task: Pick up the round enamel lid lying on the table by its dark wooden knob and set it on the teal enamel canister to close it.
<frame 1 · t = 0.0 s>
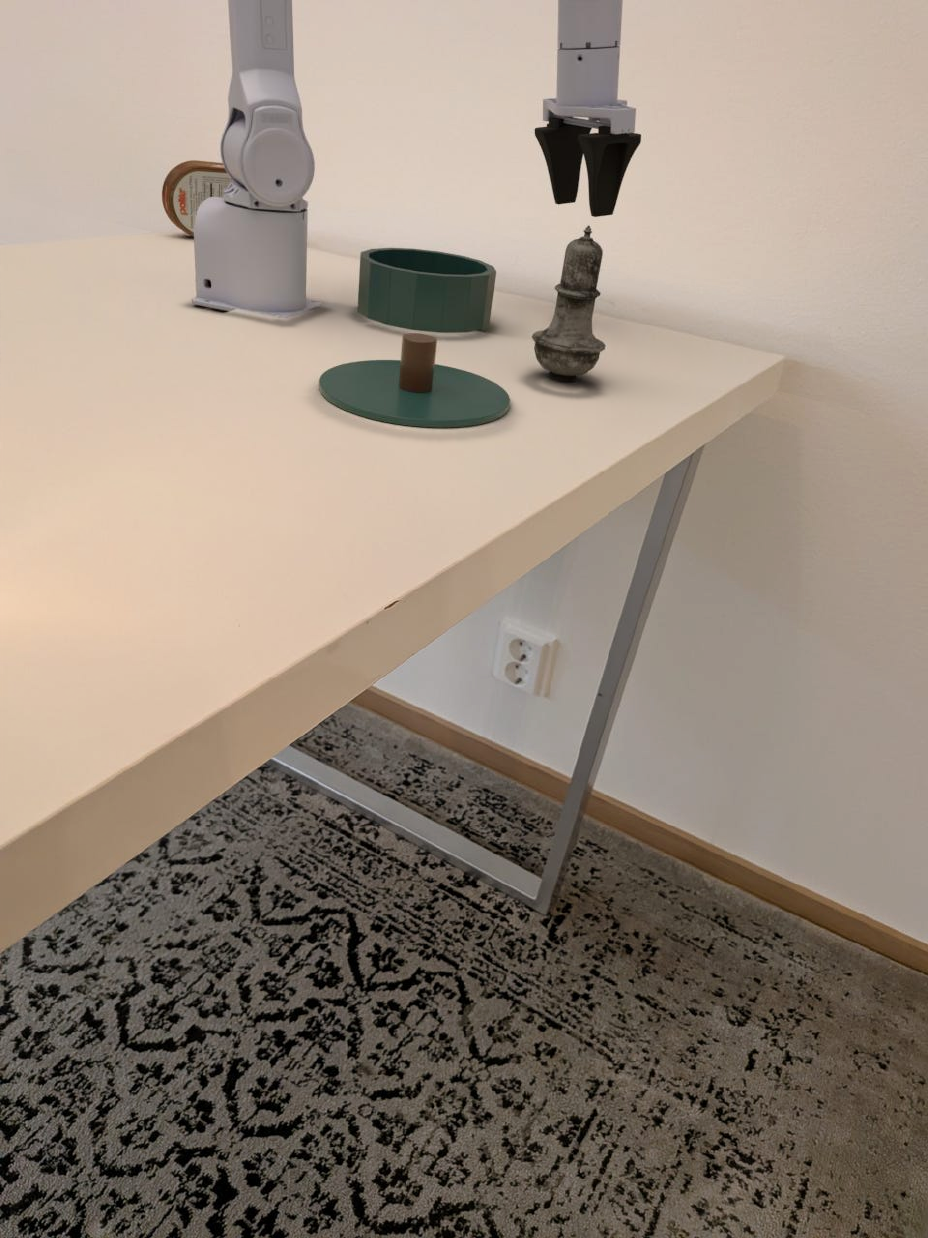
hand: (583, 208, 88), 11 cm above the table, tool pointing down, fingers open, 7 cm apart
lid: (414, 394, 63), point 1 cm above the table
canister: (423, 320, 85), on the table
tin: (228, 240, 110), on the table
salt shaker: (560, 387, 71), on the table
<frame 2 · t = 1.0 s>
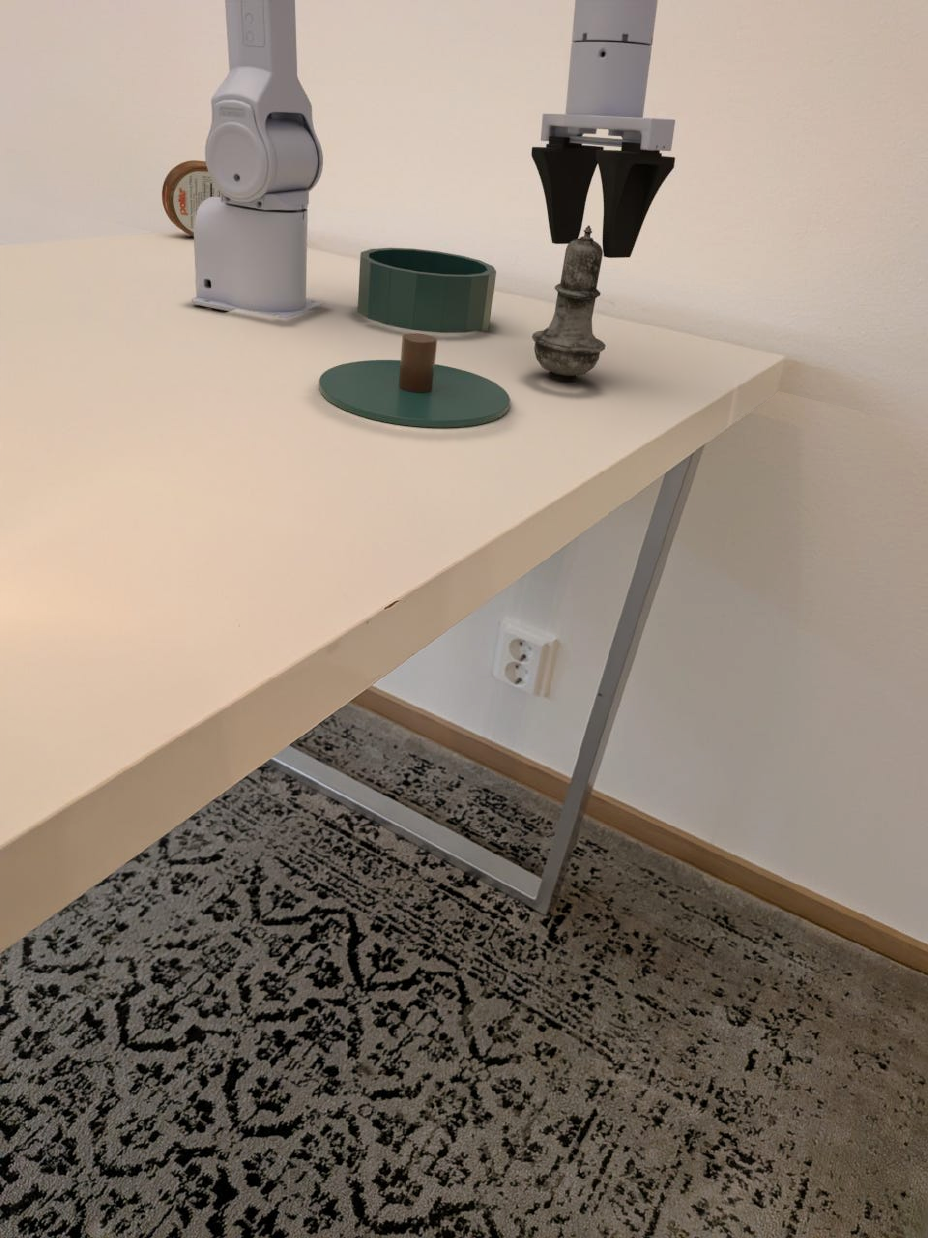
hand: (589, 249, 70), 10 cm above the table, tool pointing down, fingers open, 7 cm apart
salt shaker: (560, 387, 71), on the table, touching gripper
everything else where it was.
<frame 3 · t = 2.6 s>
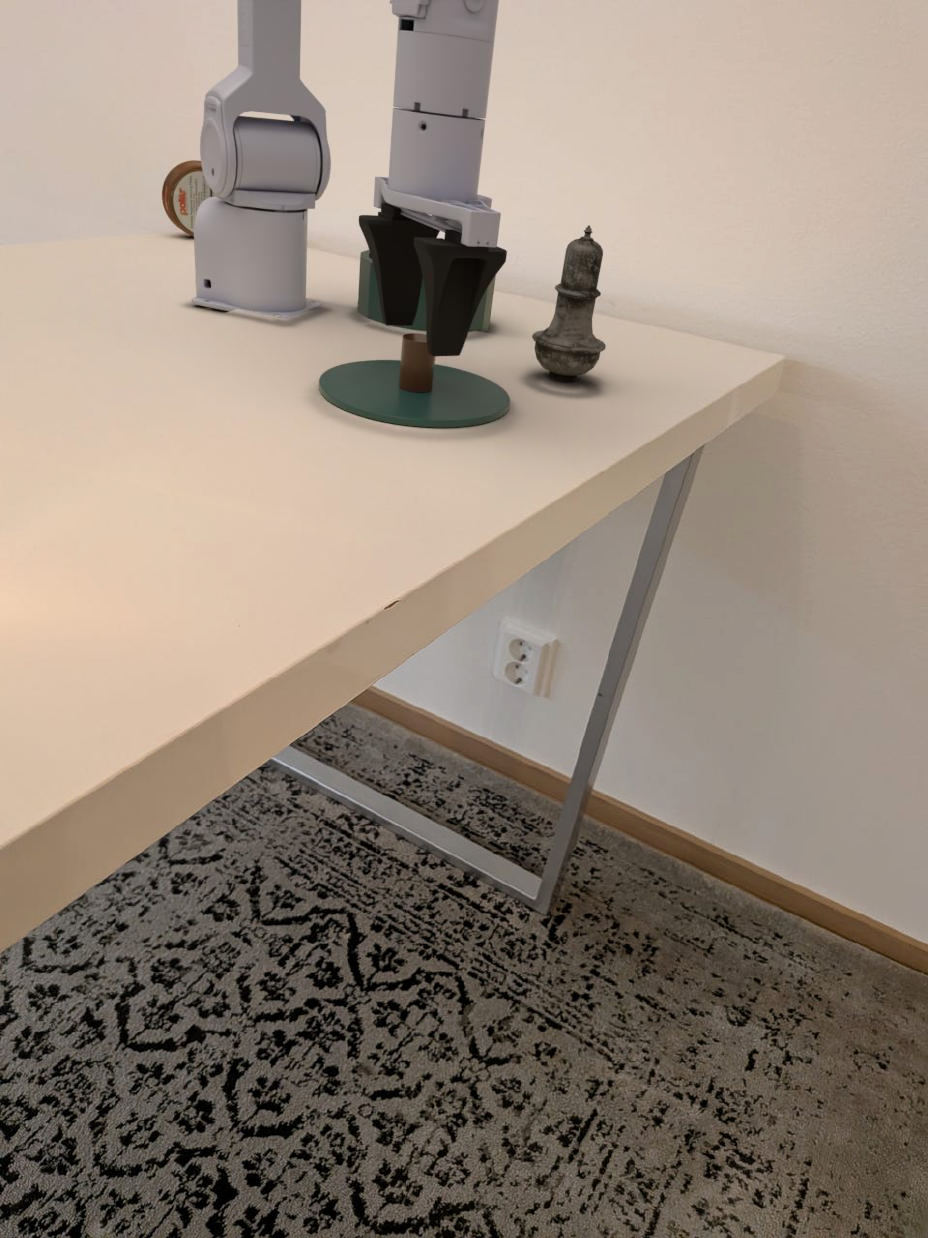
hand: (420, 338, 61), 5 cm above the table, tool pointing down, fingers open, 7 cm apart
salt shaker: (560, 387, 72), on the table
everything else where it was.
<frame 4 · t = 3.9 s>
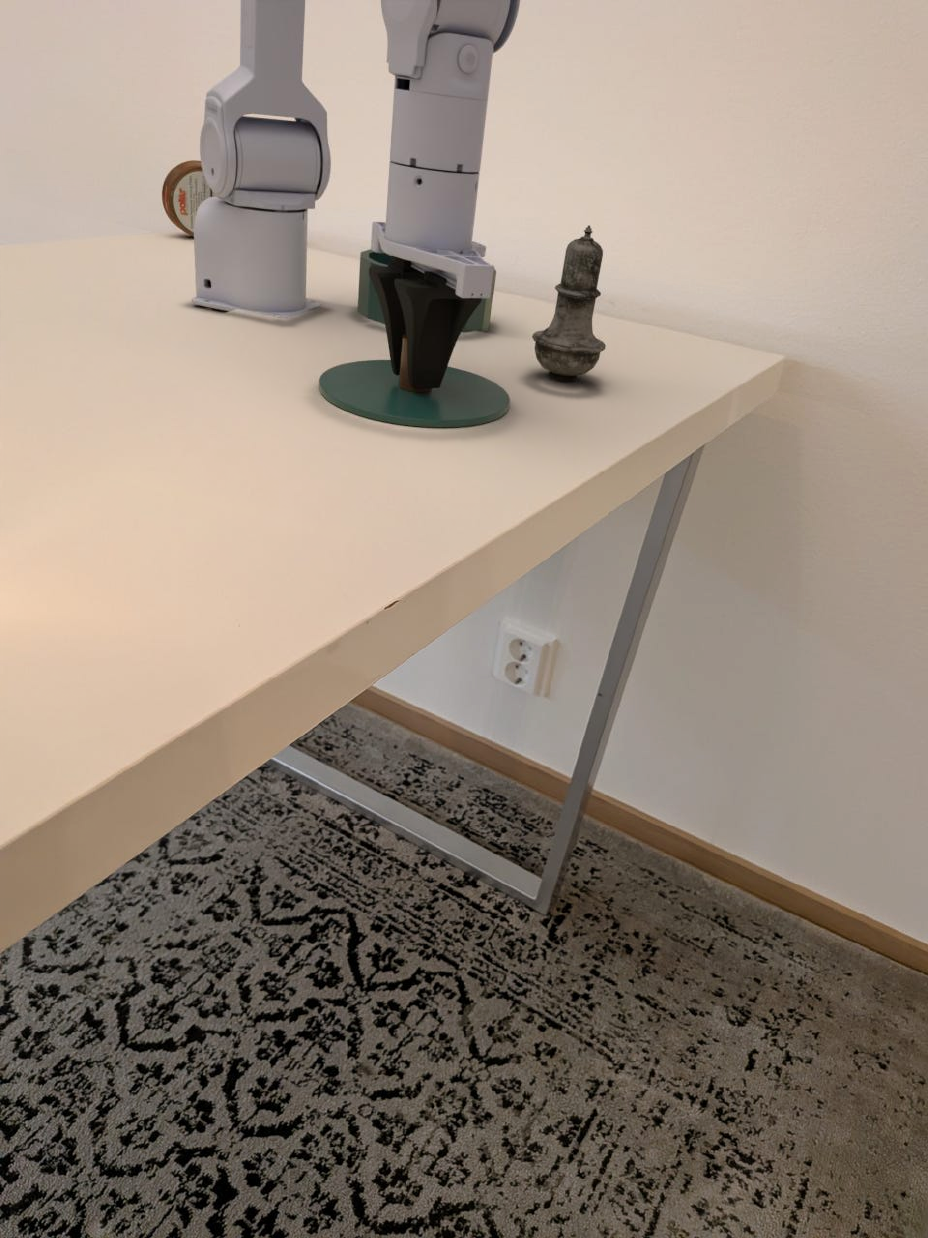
hand: (416, 380, 62), 2 cm above the table, tool pointing down, fingers closed on lid, 2 cm apart
lid: (414, 394, 63), point 1 cm above the table, touching gripper
everything else where it was.
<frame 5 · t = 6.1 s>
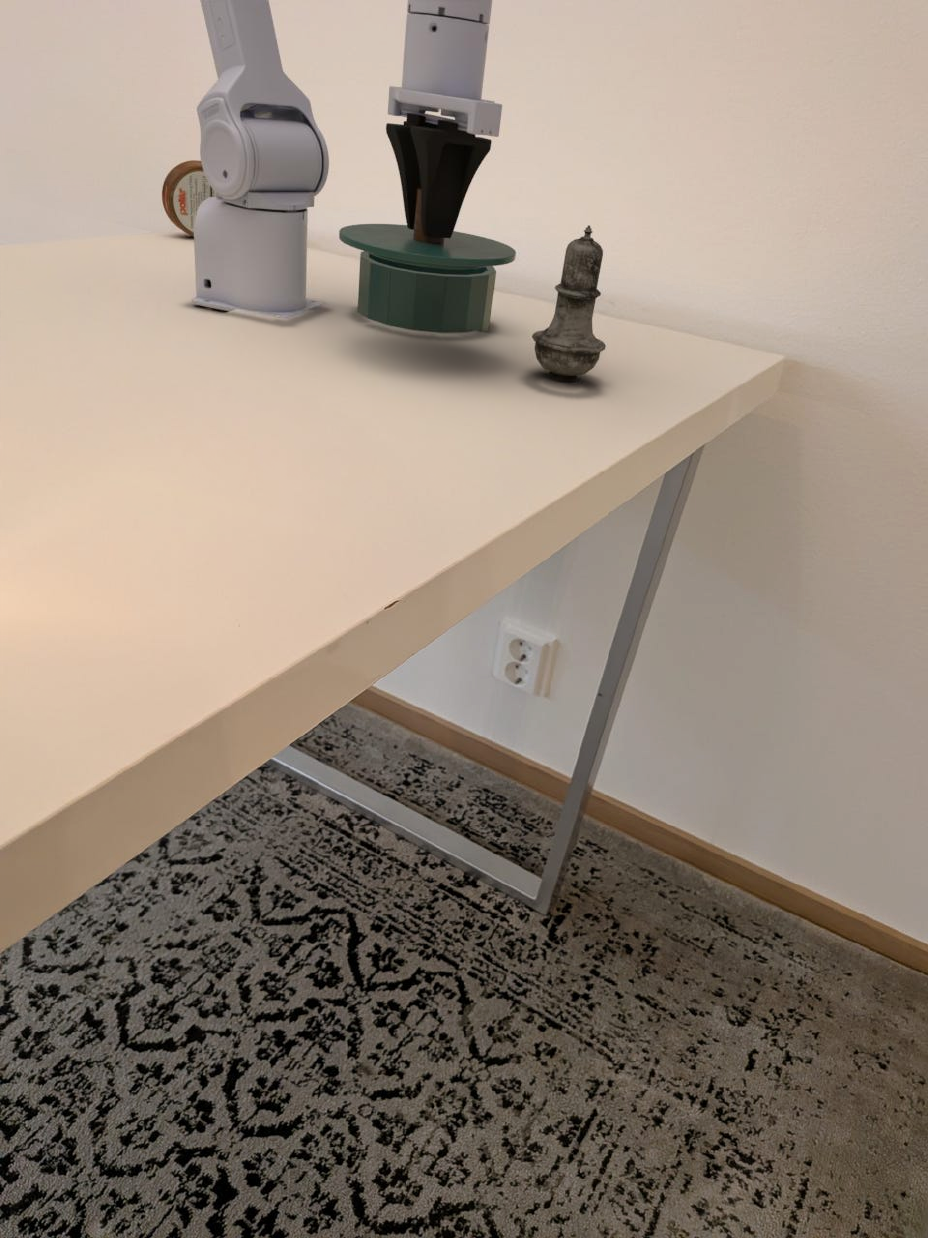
hand: (429, 233, 67), 10 cm above the table, tool pointing down, fingers closed on lid, 2 cm apart
lid: (427, 247, 68), point 9 cm above the table, touching gripper
everything else where it was.
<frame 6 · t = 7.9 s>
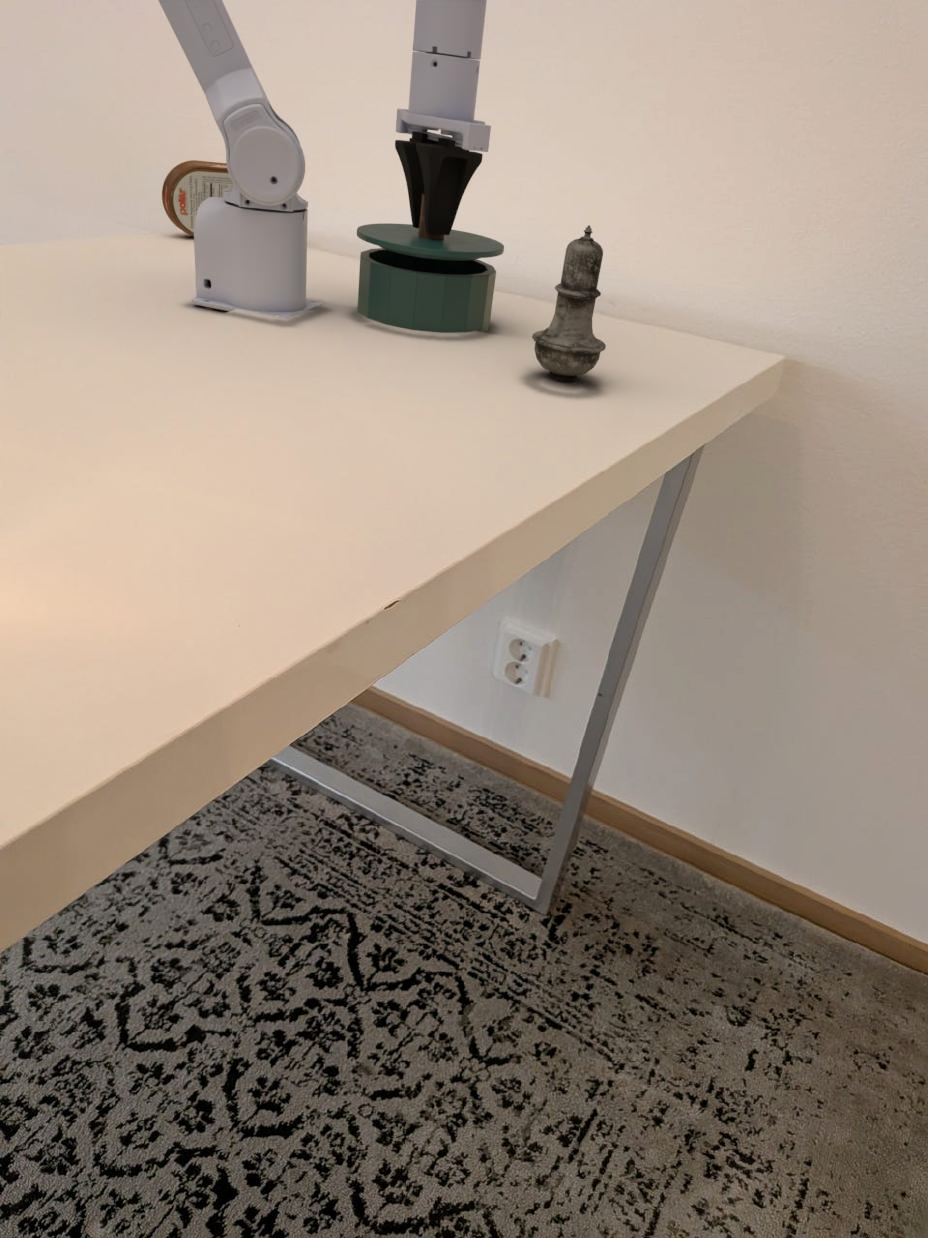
hand: (431, 230, 81), 8 cm above the table, tool pointing down, fingers closed on lid, 2 cm apart
lid: (430, 242, 81), point 7 cm above the table, touching gripper
everything else where it was.
when the fingers open (6 cm above the table, at t = 8.7 s): lid stays where it is, resting on canister.
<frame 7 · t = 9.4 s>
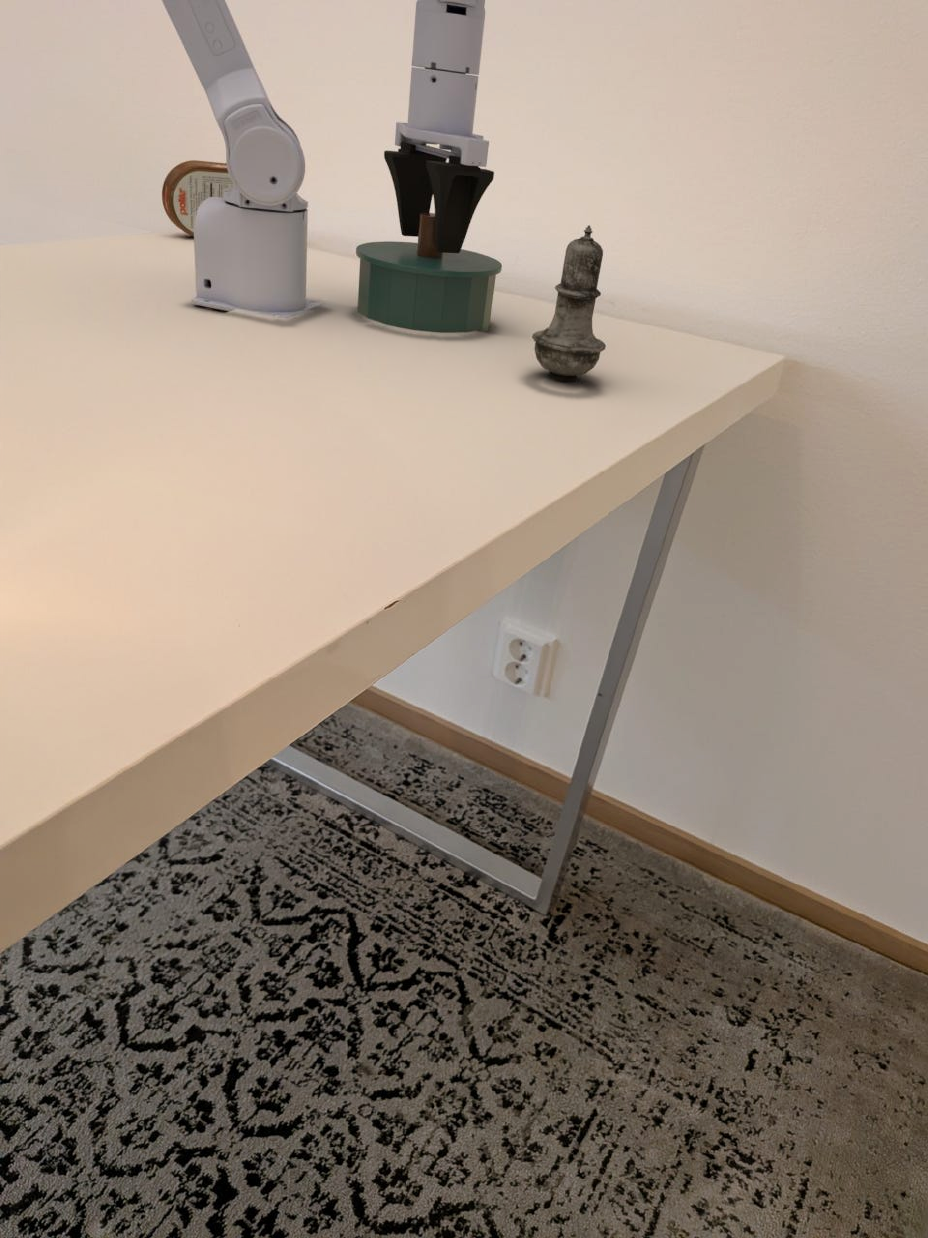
hand: (429, 243, 81), 7 cm above the table, tool pointing down, fingers open, 7 cm apart
lid: (429, 261, 82), point 5 cm above the table, touching canister
everything else where it was.
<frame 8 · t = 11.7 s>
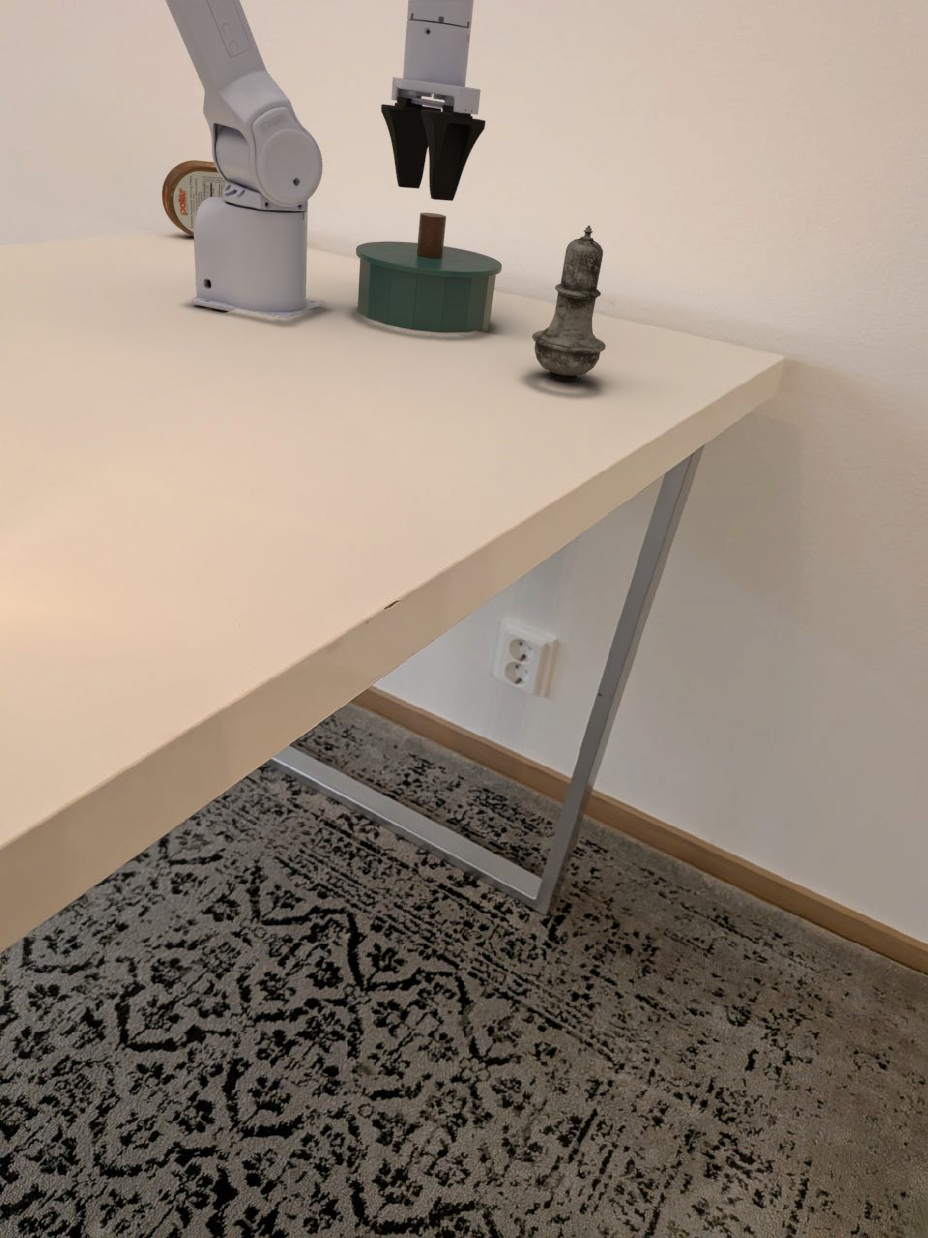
hand: (424, 193, 85), 10 cm above the table, tool pointing down, fingers open, 7 cm apart
nothing on the table moved.
at the end: lid 0.1 cm off-centre on the canister, point 5.4 cm above the canister's base; lid tilted 0° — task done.
